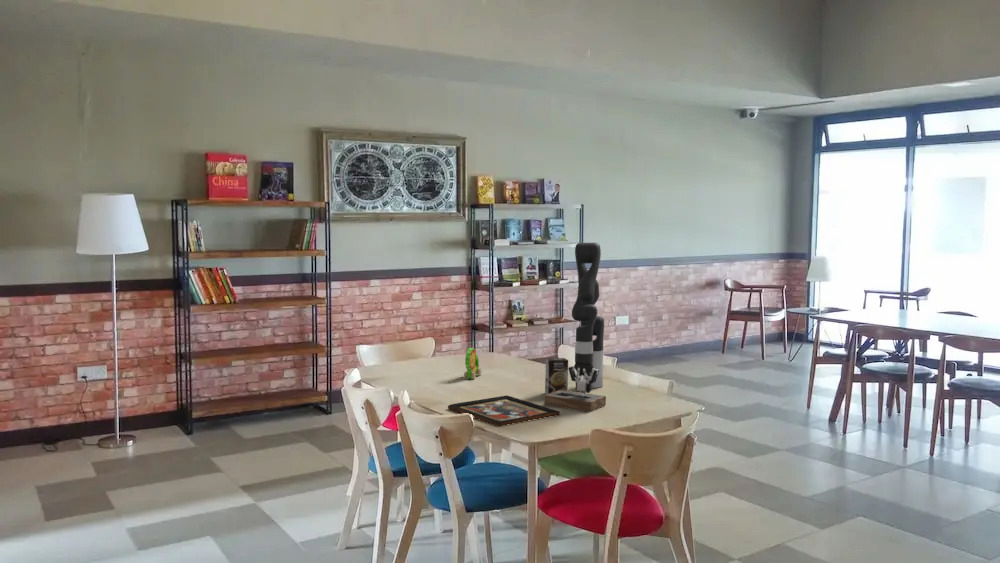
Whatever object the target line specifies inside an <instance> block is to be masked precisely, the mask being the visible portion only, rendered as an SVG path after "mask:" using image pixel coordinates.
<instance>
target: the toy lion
mask: <svg viewBox="0 0 1000 563" xmlns="http://www.w3.org/2000/svg"><path fill="white" fill-rule="evenodd" d="M464 360H465V361H464V362H465V363H464V364H465V369H466V371H464V373H463V378H464V380H468V379H471V380H476V376H479V377H480V376H482V368H480V367H479V366H480V360H479V356H478V355H477V351H476V349H475V348H474V347H469V348H468V349H467V350H466V354H465V359H464Z"/></svg>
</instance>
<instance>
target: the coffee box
mask: <svg viewBox="0 0 1000 563" xmlns="http://www.w3.org/2000/svg"><path fill="white" fill-rule="evenodd" d="M568 368H569V359H567V358H564V357H560V358H559V357H557V358H555V357H554V358H553V357H551V358H547V357H546V358H545V376H544V377H545V378H544V379H545V381H544V383H545V384H544V393H545V395H547V394H550V393H553V392H556V391H559V390H565V391H569V390H568V384H569V369H568Z"/></svg>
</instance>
